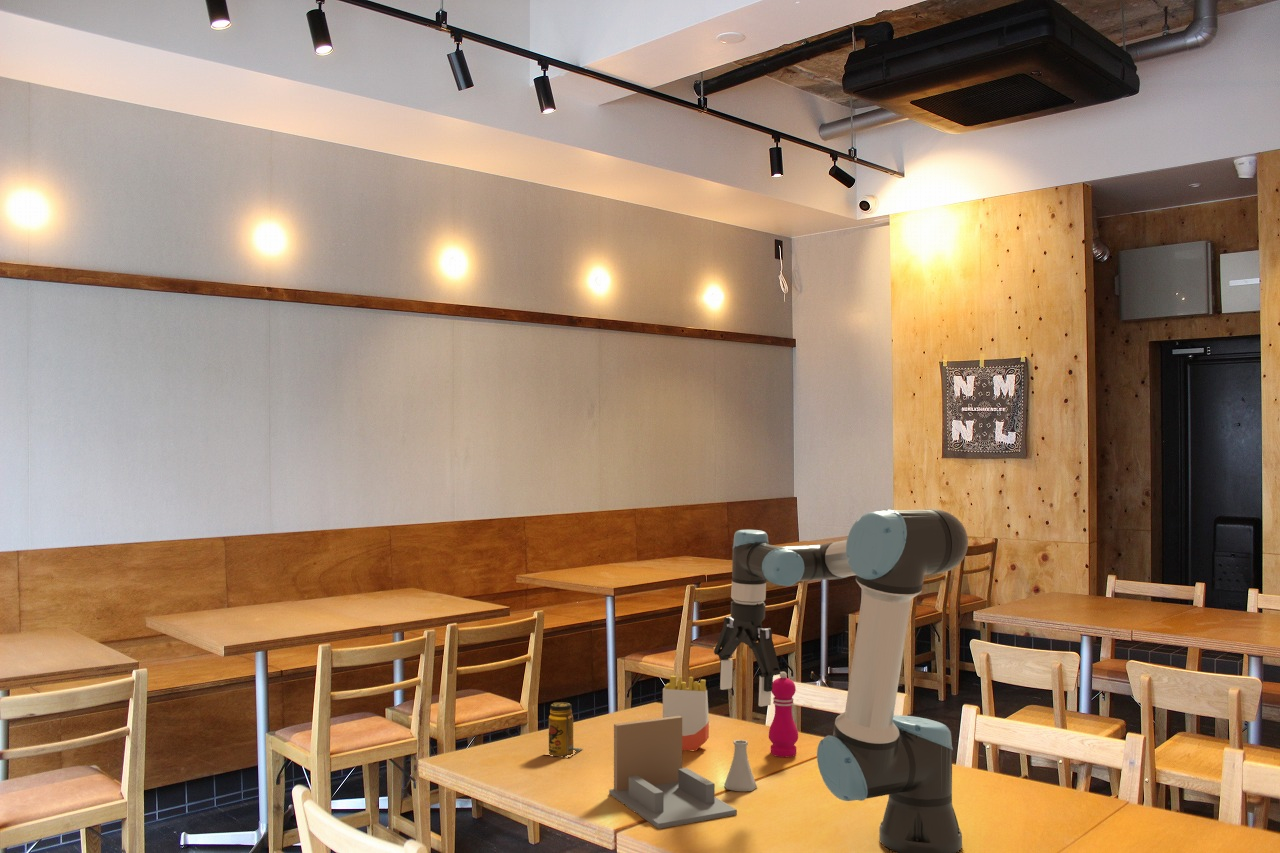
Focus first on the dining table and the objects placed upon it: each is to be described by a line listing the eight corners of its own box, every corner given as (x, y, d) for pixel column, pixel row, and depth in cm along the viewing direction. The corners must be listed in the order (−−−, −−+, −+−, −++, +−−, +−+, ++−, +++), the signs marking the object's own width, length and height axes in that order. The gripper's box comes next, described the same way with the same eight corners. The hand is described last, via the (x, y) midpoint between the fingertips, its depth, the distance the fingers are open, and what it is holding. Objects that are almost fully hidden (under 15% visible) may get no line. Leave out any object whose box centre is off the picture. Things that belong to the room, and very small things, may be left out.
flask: (755, 793, 225) (755, 747, 225) (722, 791, 227) (722, 745, 227) (758, 783, 232) (758, 738, 232) (726, 781, 234) (726, 736, 234)
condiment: (542, 755, 253) (542, 706, 253) (556, 746, 261) (556, 698, 261) (569, 758, 250) (569, 708, 251) (583, 749, 258) (583, 700, 259)
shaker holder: (736, 814, 212) (736, 740, 212) (658, 828, 204) (658, 751, 204) (682, 782, 232) (682, 715, 233) (609, 794, 224) (609, 724, 225)
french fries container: (666, 743, 263) (666, 672, 264) (709, 746, 261) (709, 674, 261) (662, 748, 259) (662, 676, 259) (705, 752, 256) (705, 678, 257)
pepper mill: (778, 747, 260) (778, 667, 260) (803, 753, 255) (803, 671, 256) (762, 754, 254) (762, 672, 255) (788, 759, 250) (788, 676, 250)
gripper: (799, 610, 219) (795, 710, 220) (727, 589, 240) (723, 680, 241) (771, 614, 215) (768, 715, 216) (700, 591, 236) (697, 684, 237)
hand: (744, 697), depth 228 cm, fingers open, 13 cm apart
